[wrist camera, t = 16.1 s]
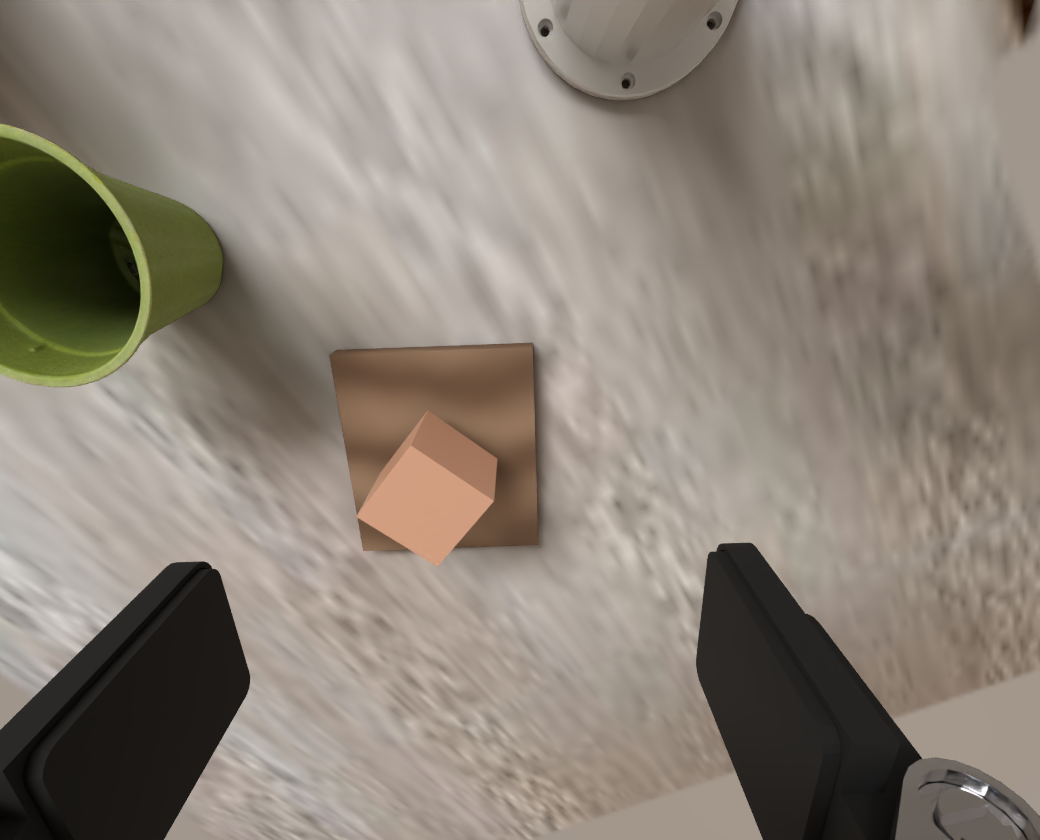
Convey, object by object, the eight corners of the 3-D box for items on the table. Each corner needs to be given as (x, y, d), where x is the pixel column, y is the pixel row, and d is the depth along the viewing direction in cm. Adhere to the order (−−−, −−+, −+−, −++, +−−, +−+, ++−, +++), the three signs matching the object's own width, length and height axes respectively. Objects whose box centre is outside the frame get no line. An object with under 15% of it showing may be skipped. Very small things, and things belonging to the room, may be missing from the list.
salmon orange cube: (380, 472, 37) (356, 516, 31) (427, 410, 35) (410, 445, 30) (449, 516, 38) (437, 566, 33) (497, 458, 37) (493, 501, 31)
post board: (336, 350, 37) (290, 382, 29) (532, 342, 37) (536, 373, 29) (368, 540, 42) (336, 607, 35) (537, 534, 42) (542, 600, 35)
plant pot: (293, 239, 34) (193, 246, 24) (209, 373, 37) (88, 431, 27) (124, 109, 31) (-74, 52, 21) (49, 265, 35) (-155, 284, 24)
